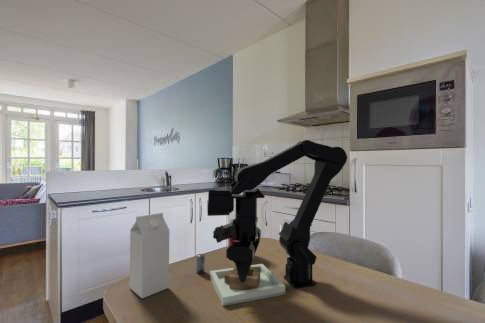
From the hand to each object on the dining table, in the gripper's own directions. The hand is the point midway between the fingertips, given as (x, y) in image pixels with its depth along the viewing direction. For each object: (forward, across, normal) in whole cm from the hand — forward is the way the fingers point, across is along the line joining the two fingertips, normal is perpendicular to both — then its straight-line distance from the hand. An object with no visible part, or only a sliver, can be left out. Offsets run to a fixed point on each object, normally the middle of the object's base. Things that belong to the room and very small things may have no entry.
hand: (245, 273), depth 64 cm
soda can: (+3, -21, -6) cm, 22 cm away
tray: (+3, 0, 0) cm, 3 cm away
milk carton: (+3, +6, -24) cm, 25 cm away
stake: (+3, -5, -14) cm, 16 cm away
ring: (+3, 0, 0) cm, 3 cm away
